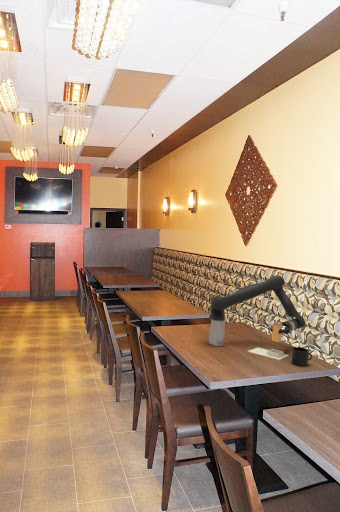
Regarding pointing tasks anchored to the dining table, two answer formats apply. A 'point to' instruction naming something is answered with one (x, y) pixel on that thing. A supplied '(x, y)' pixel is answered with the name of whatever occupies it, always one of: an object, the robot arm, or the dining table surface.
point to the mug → (300, 356)
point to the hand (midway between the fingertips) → (275, 331)
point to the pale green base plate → (269, 353)
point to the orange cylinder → (276, 332)
